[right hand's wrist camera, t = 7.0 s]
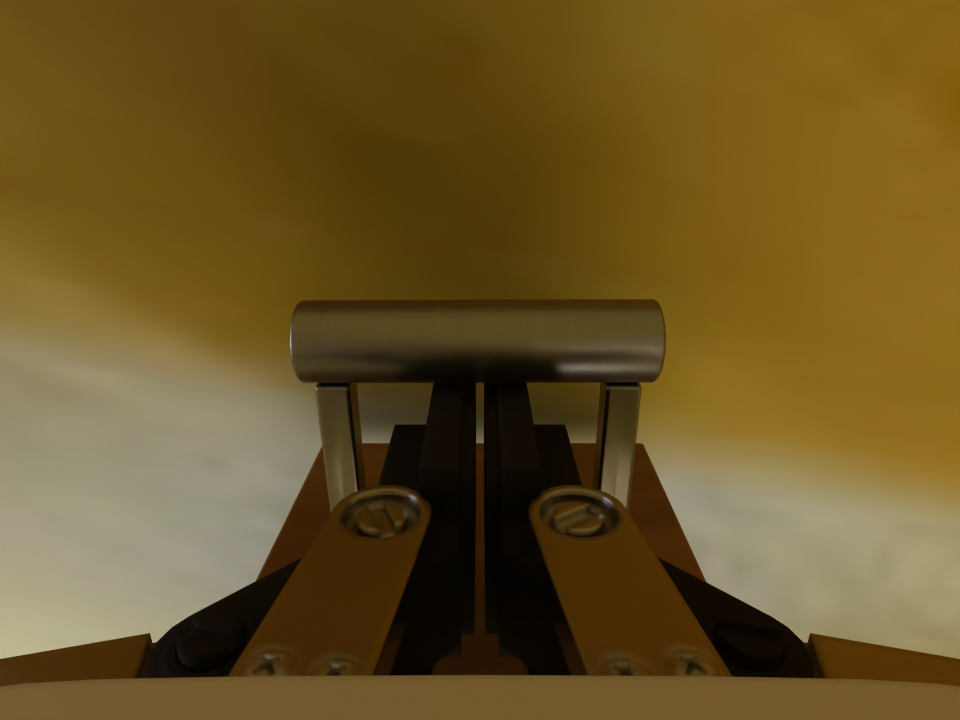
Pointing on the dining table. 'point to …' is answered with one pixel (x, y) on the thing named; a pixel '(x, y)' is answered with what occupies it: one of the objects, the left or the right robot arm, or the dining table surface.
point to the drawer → (480, 359)
